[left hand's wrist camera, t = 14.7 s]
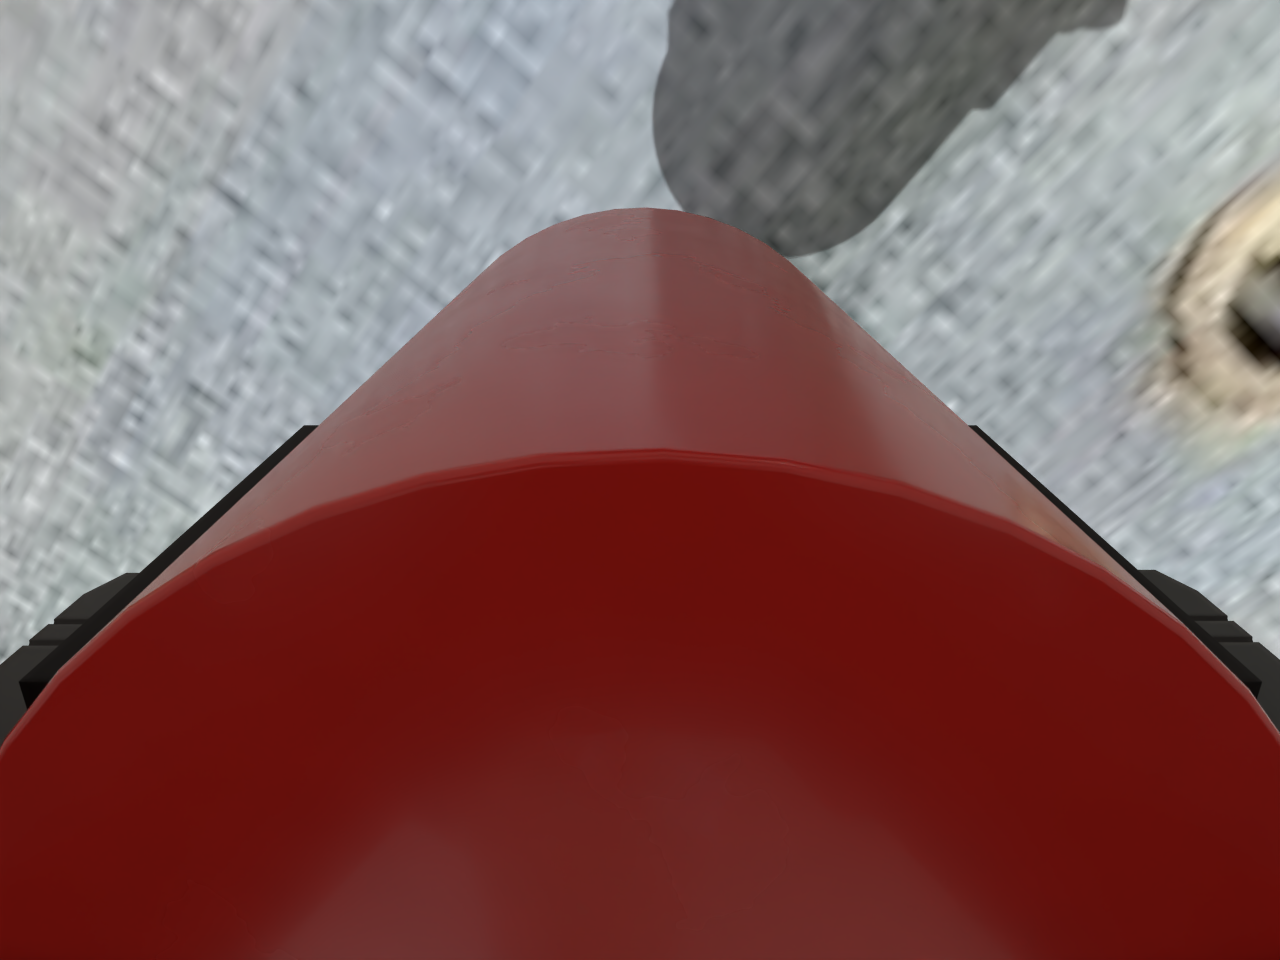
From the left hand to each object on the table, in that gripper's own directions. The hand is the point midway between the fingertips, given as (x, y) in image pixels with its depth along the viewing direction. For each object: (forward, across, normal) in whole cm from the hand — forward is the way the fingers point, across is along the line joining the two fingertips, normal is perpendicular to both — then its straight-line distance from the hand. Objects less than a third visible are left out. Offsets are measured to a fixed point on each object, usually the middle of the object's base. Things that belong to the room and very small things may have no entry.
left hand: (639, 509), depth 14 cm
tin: (+4, 0, 0) cm, 4 cm away
